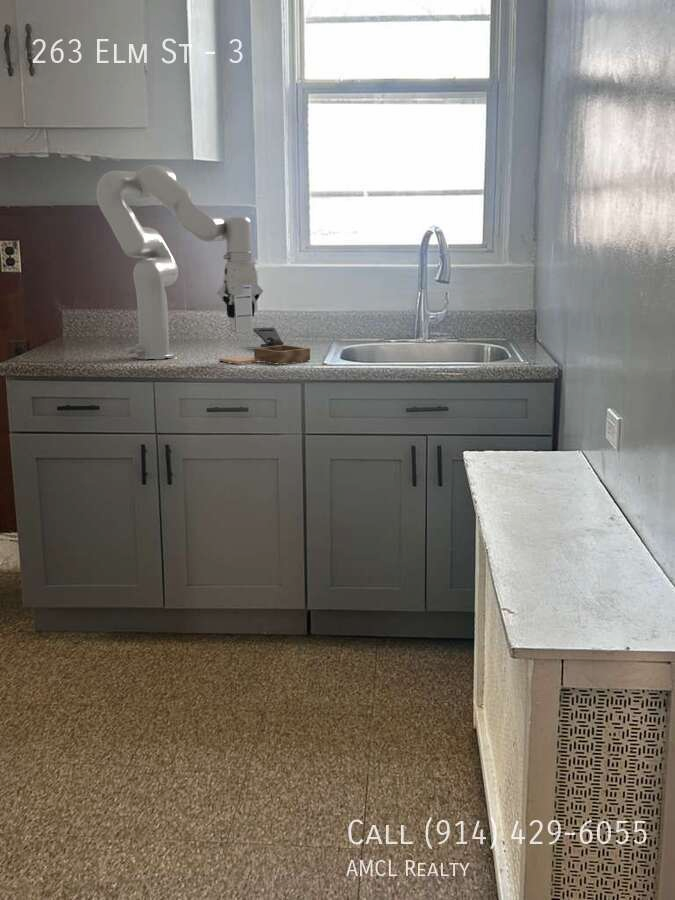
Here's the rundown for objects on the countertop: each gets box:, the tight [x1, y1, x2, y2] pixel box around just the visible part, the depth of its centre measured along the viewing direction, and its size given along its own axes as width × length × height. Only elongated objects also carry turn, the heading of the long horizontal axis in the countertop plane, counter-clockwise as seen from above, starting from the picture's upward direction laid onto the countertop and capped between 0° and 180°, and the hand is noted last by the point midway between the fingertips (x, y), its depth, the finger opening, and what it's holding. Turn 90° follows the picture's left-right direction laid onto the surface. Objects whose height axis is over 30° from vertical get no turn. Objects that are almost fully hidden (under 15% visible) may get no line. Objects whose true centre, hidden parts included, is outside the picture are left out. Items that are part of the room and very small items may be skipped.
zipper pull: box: [252, 327, 284, 348], centre depth 354 cm, size 9×7×25 cm
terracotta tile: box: [218, 355, 261, 365], centre depth 329 cm, size 10×10×1 cm
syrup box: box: [229, 285, 254, 333], centre depth 325 cm, size 6×6×14 cm
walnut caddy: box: [253, 344, 311, 364], centre depth 330 cm, size 12×12×4 cm
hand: (240, 316), depth 326 cm, fingers closed on syrup box, 6 cm apart
